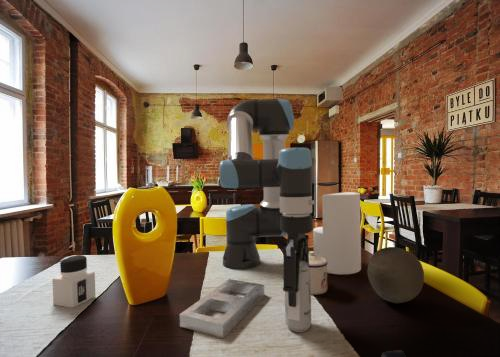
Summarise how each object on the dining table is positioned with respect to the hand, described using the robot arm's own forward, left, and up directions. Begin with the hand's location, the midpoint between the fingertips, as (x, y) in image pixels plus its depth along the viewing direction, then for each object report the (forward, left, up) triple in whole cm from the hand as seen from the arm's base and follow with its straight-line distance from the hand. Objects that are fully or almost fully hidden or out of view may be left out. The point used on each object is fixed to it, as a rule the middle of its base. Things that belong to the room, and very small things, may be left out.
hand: (298, 312), depth 66 cm
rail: (-1, -20, -3) cm, 20 cm away
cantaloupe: (-22, +21, -4) cm, 31 cm away
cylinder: (-47, +2, -4) cm, 47 cm away
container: (+12, -64, -4) cm, 65 cm away
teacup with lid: (-24, -2, -4) cm, 24 cm away
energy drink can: (0, 0, -4) cm, 4 cm away
